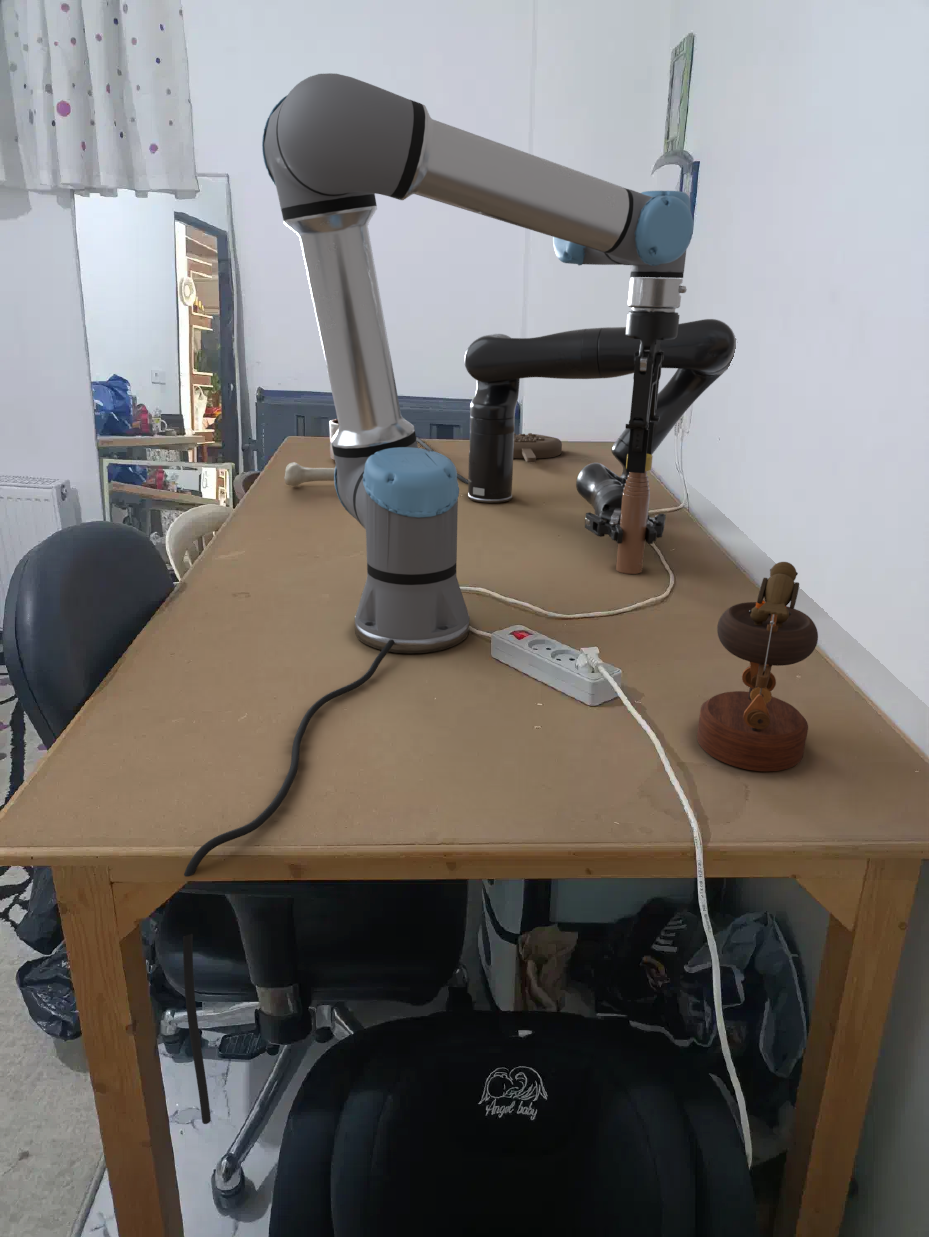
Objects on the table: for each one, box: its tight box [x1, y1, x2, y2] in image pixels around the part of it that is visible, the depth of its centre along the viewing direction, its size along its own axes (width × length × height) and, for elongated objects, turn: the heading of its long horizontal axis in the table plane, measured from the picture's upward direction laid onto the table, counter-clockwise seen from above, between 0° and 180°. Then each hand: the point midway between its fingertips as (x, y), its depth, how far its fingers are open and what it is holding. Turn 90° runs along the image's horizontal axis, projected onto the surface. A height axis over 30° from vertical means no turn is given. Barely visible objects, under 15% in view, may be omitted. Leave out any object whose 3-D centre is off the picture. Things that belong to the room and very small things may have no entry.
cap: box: [626, 454, 654, 472], centre depth 131 cm, size 4×4×2 cm
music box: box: [696, 561, 819, 772], centre depth 84 cm, size 15×11×20 cm
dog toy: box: [283, 461, 335, 487], centre depth 188 cm, size 20×6×5 cm, turn 99°
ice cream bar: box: [513, 432, 563, 463], centre depth 220 cm, size 21×28×4 cm
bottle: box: [615, 471, 651, 575], centre depth 135 cm, size 4×4×18 cm
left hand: (638, 467), depth 132 cm, fingers open, 6 cm apart
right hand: (635, 537), depth 133 cm, fingers closed on bottle, 4 cm apart
